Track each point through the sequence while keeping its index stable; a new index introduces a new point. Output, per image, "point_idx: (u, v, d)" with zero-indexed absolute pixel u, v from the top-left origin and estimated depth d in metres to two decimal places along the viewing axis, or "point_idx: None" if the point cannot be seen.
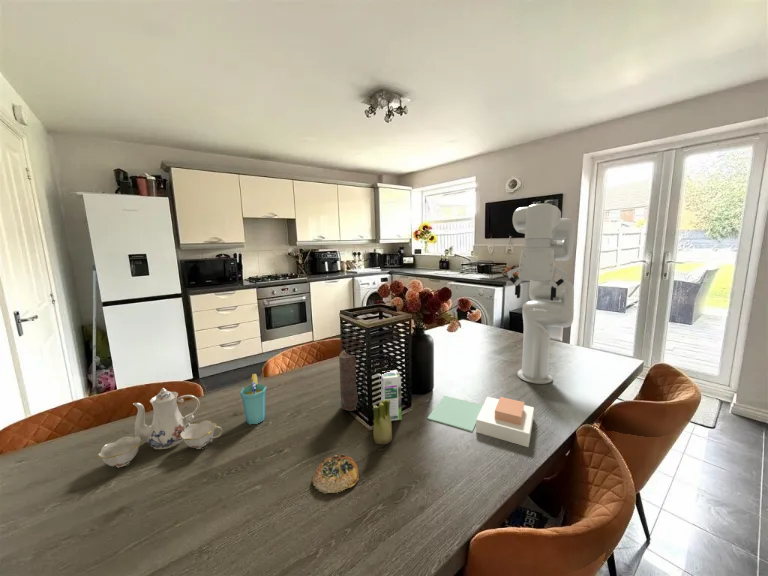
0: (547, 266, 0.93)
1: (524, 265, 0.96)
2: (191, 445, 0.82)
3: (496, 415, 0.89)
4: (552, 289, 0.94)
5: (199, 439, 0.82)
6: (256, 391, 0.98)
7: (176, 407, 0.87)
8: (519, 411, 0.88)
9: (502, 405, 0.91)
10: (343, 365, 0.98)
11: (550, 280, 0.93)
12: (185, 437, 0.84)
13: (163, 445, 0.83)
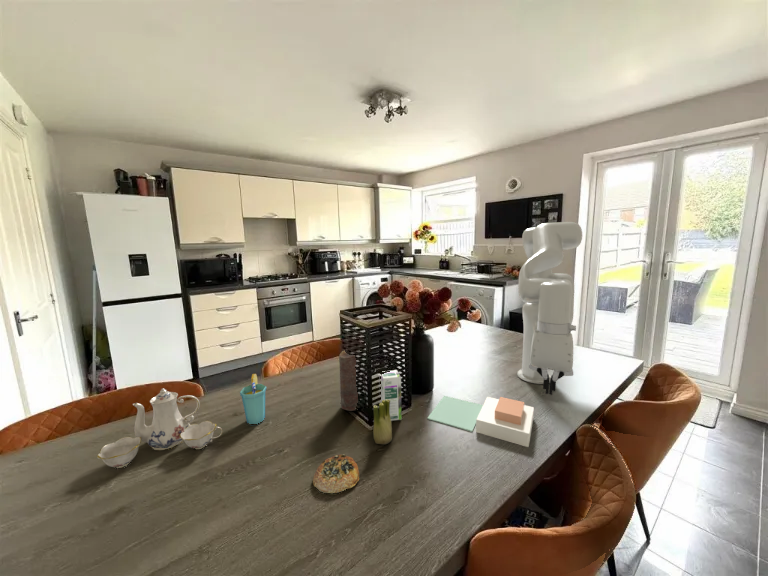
0: (565, 355, 0.79)
1: (537, 351, 0.82)
2: (191, 445, 0.82)
3: (496, 415, 0.89)
4: (551, 382, 0.82)
5: (199, 439, 0.81)
6: (256, 391, 0.98)
7: (176, 407, 0.87)
8: (519, 411, 0.88)
9: (502, 405, 0.91)
10: (343, 365, 0.98)
11: (568, 371, 0.80)
12: (185, 437, 0.84)
13: (163, 446, 0.83)
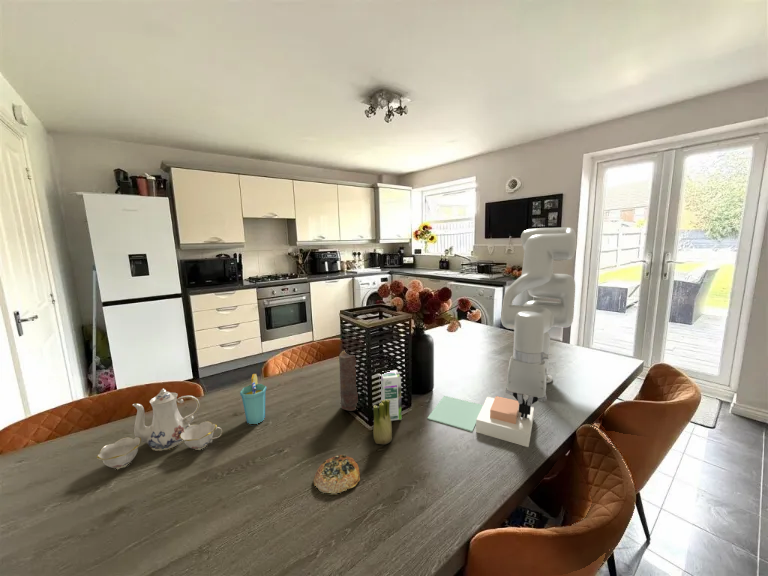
0: (538, 382, 0.84)
1: (513, 377, 0.87)
2: (191, 446, 0.81)
3: (491, 414, 0.89)
4: (526, 407, 0.87)
5: (199, 440, 0.81)
6: (256, 391, 0.98)
7: (176, 408, 0.87)
8: (514, 410, 0.88)
9: (497, 404, 0.92)
10: (343, 365, 0.98)
11: (541, 397, 0.84)
12: (185, 438, 0.84)
13: (163, 446, 0.83)
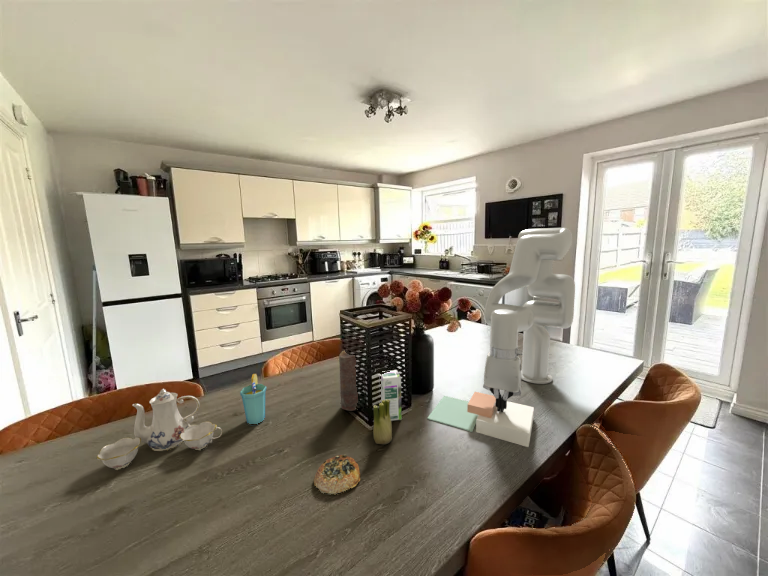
0: (512, 377, 0.87)
1: (489, 373, 0.90)
2: (191, 446, 0.81)
3: (469, 409, 0.92)
4: (502, 401, 0.90)
5: (199, 440, 0.81)
6: (256, 391, 0.98)
7: (176, 408, 0.87)
8: (490, 405, 0.91)
9: (475, 399, 0.95)
10: (343, 365, 0.98)
11: (516, 392, 0.88)
12: (185, 438, 0.83)
13: (163, 446, 0.83)
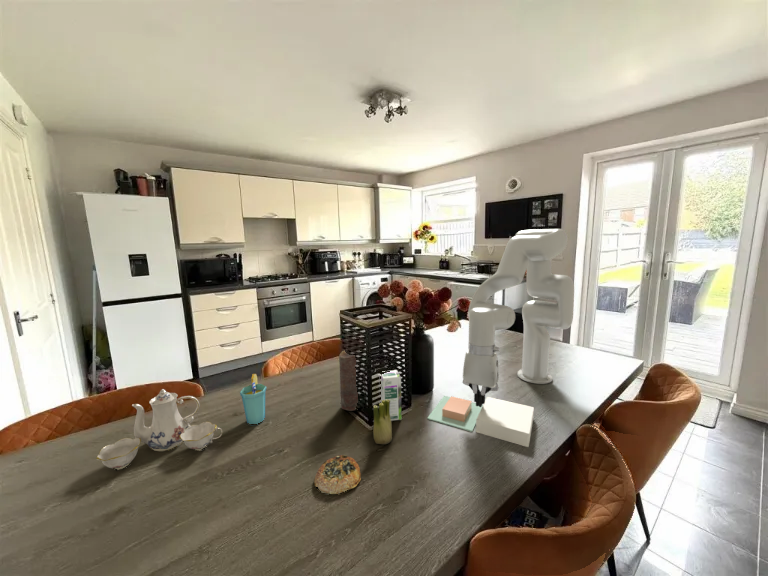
0: (489, 373, 0.90)
1: (467, 369, 0.93)
2: (191, 446, 0.81)
3: (462, 417, 0.94)
4: (480, 396, 0.93)
5: (199, 440, 0.81)
6: (256, 391, 0.98)
7: (176, 408, 0.87)
8: None
9: None
10: (343, 365, 0.98)
11: (493, 387, 0.91)
12: (185, 438, 0.83)
13: (163, 447, 0.83)
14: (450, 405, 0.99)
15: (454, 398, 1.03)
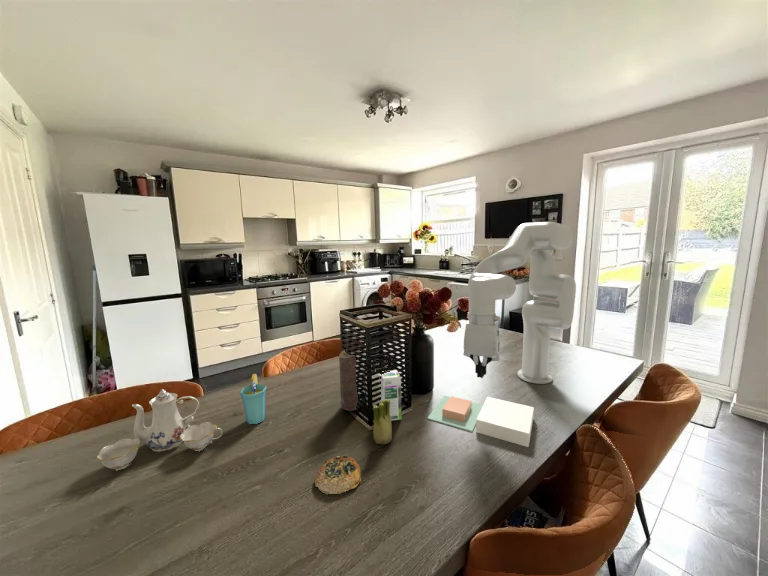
0: (490, 343, 0.89)
1: (468, 339, 0.92)
2: (191, 447, 0.81)
3: (462, 417, 0.94)
4: (481, 367, 0.92)
5: (199, 441, 0.81)
6: (256, 391, 0.98)
7: (175, 408, 0.87)
8: None
9: None
10: (343, 365, 0.98)
11: (494, 357, 0.90)
12: (185, 439, 0.83)
13: (162, 447, 0.83)
14: (450, 405, 0.99)
15: (454, 398, 1.03)
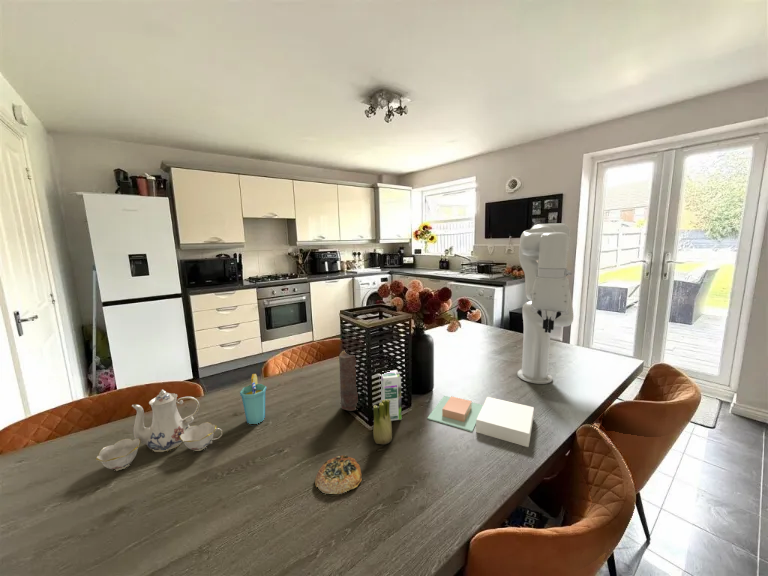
0: (561, 296, 0.91)
1: (537, 294, 0.94)
2: (191, 447, 0.81)
3: (462, 417, 0.94)
4: (550, 322, 0.94)
5: (199, 441, 0.81)
6: (256, 391, 0.98)
7: (175, 409, 0.86)
8: None
9: None
10: (343, 365, 0.98)
11: (564, 310, 0.91)
12: (185, 439, 0.83)
13: (162, 447, 0.82)
14: (450, 405, 0.99)
15: (454, 398, 1.03)
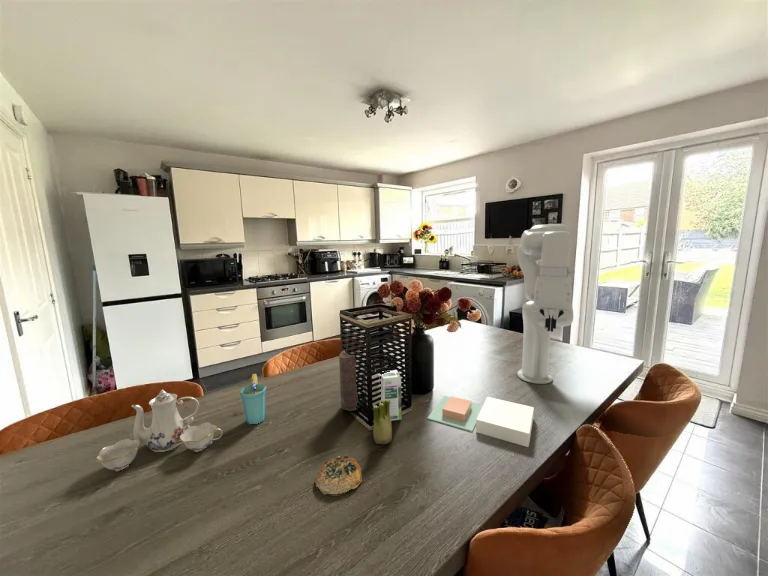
0: (564, 295, 0.91)
1: (540, 293, 0.94)
2: (191, 447, 0.81)
3: (462, 417, 0.94)
4: (552, 320, 0.94)
5: (199, 441, 0.81)
6: (256, 391, 0.98)
7: (175, 409, 0.86)
8: None
9: None
10: (343, 365, 0.98)
11: (567, 309, 0.91)
12: (185, 439, 0.83)
13: (162, 448, 0.82)
14: (450, 405, 0.99)
15: (454, 398, 1.03)
